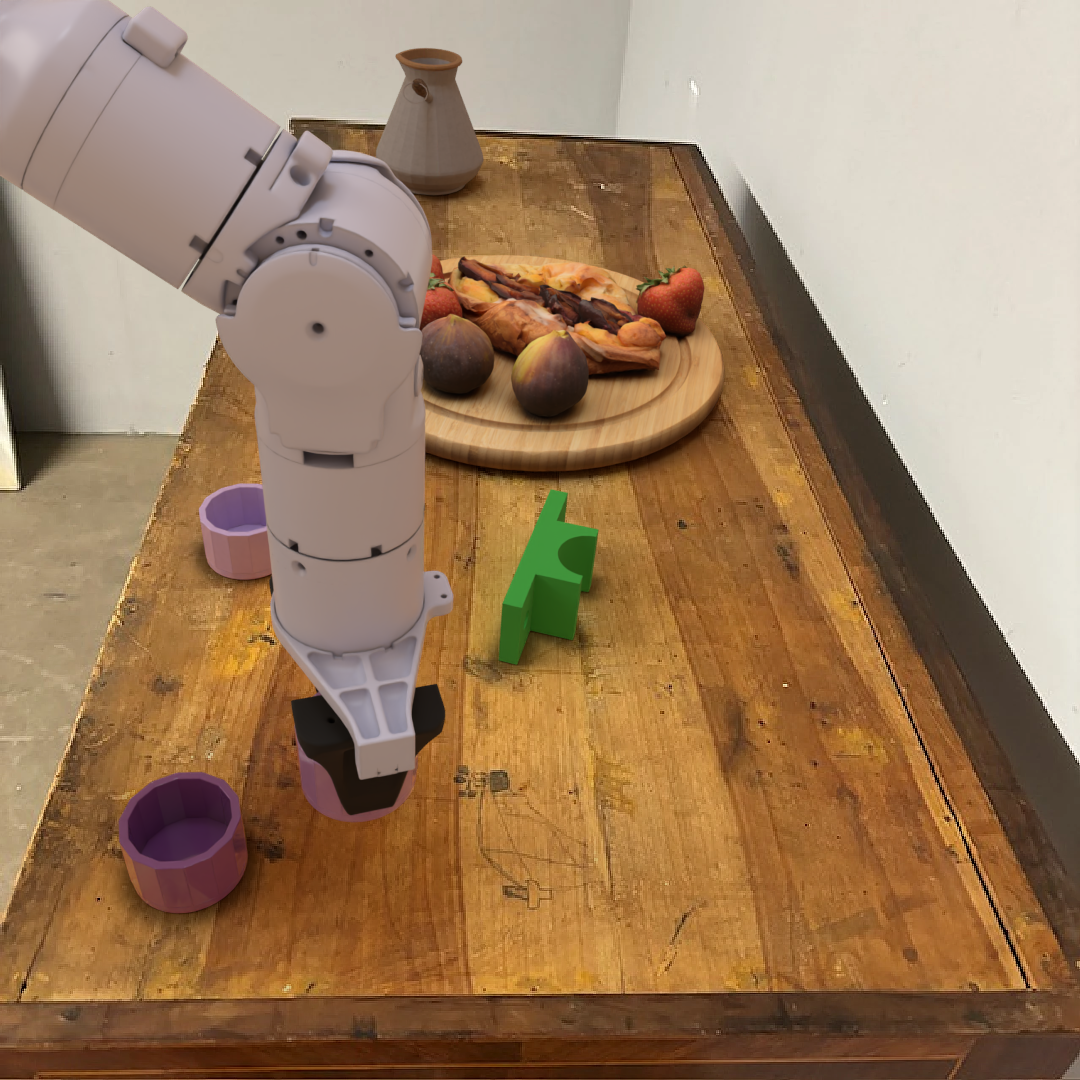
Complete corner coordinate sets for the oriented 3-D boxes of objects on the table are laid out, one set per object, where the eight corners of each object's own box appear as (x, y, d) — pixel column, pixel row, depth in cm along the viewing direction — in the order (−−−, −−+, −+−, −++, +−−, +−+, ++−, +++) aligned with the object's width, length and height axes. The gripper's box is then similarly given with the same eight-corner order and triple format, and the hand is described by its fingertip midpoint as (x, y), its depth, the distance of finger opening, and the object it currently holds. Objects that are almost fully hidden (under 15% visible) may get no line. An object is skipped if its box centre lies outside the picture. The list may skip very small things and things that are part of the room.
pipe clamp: (561, 676, 62) (567, 618, 59) (498, 662, 62) (501, 603, 59) (601, 555, 70) (608, 499, 67) (545, 543, 71) (550, 487, 68)
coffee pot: (383, 158, 121) (380, 14, 112) (485, 166, 122) (491, 23, 112) (355, 237, 105) (349, 76, 95) (474, 246, 105) (479, 86, 96)
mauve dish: (309, 834, 46) (304, 783, 44) (293, 741, 50) (287, 690, 48) (428, 810, 48) (429, 759, 46) (403, 721, 52) (403, 670, 49)
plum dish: (133, 926, 48) (119, 881, 46) (130, 829, 52) (117, 783, 50) (253, 899, 49) (245, 854, 47) (241, 806, 53) (234, 761, 51)
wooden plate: (683, 282, 102) (697, 197, 97) (761, 482, 78) (786, 383, 72) (341, 271, 99) (336, 183, 94) (309, 477, 74) (300, 372, 69)
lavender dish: (209, 586, 65) (202, 541, 63) (203, 532, 69) (196, 488, 67) (297, 573, 67) (292, 529, 64) (285, 521, 70) (281, 478, 68)
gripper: (506, 629, 35) (488, 869, 44) (411, 395, 46) (411, 626, 54) (286, 665, 33) (312, 909, 42) (240, 413, 44) (268, 650, 52)
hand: (357, 752), depth 48 cm, fingers closed on mauve dish, 5 cm apart
